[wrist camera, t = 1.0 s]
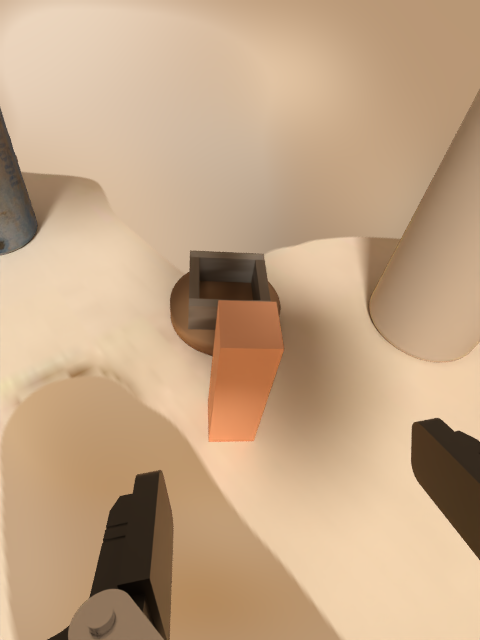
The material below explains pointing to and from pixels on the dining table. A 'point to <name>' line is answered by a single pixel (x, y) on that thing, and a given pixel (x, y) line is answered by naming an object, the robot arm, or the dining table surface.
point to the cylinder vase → (438, 261)
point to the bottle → (13, 199)
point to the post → (242, 367)
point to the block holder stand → (216, 292)
